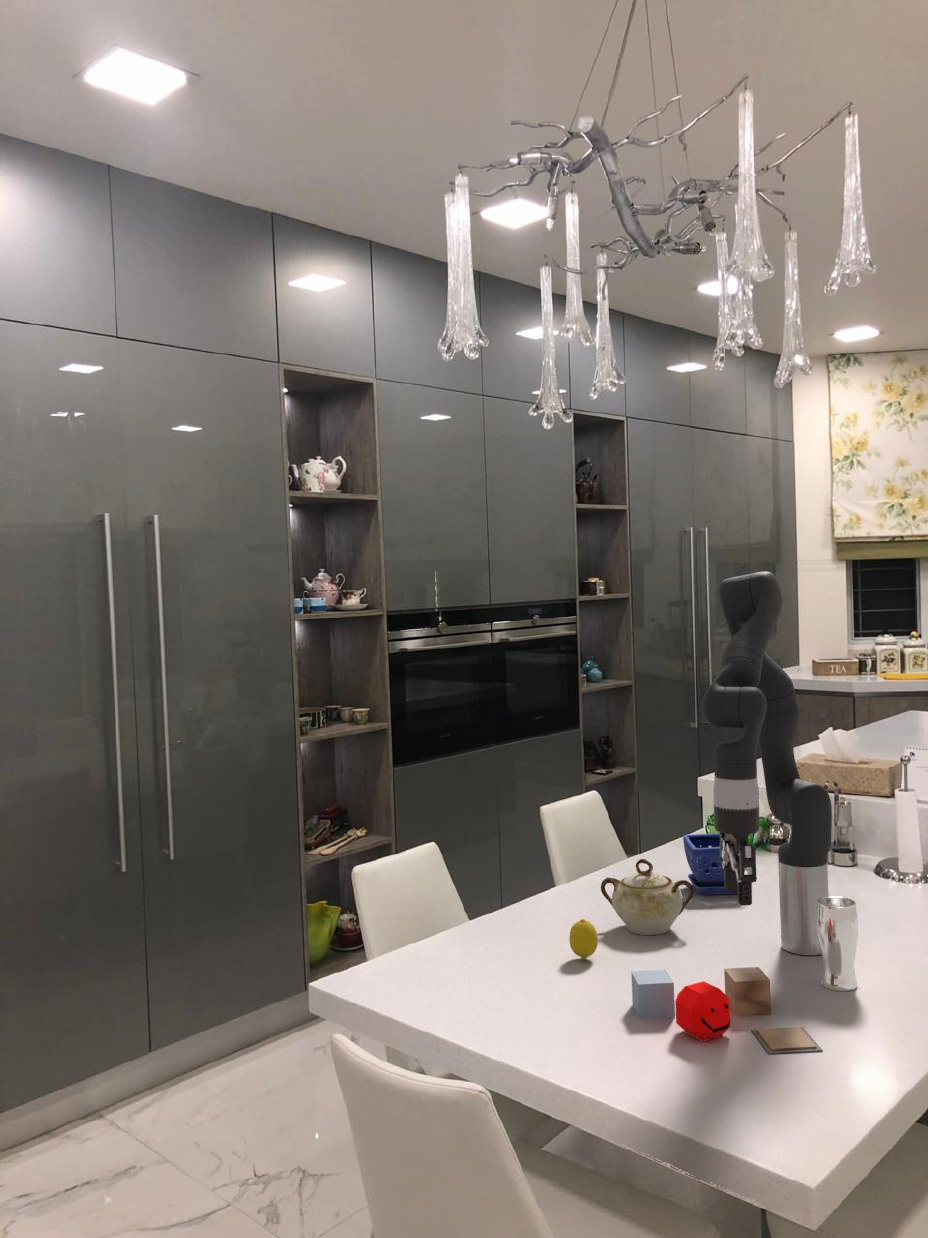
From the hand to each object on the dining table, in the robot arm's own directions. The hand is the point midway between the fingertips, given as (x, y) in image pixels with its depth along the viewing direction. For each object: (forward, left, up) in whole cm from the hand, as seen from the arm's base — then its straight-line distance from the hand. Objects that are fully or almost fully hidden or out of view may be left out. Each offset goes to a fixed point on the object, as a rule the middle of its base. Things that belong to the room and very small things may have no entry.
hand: (737, 897), depth 173 cm
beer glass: (-20, -7, -19) cm, 28 cm away
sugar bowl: (+7, -42, -19) cm, 47 cm away
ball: (+9, +10, -19) cm, 23 cm away
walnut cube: (-1, +1, -19) cm, 19 cm away
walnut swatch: (-3, +14, -19) cm, 24 cm away
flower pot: (-15, -68, -19) cm, 72 cm away
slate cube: (+15, 0, -19) cm, 24 cm away
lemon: (+23, -26, -19) cm, 40 cm away
